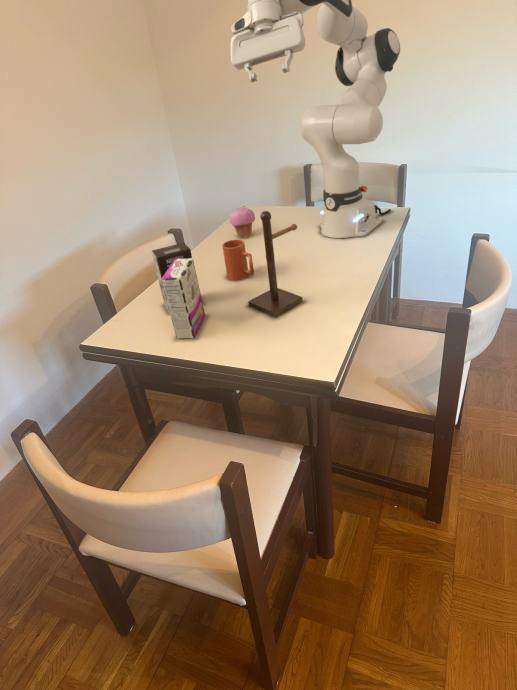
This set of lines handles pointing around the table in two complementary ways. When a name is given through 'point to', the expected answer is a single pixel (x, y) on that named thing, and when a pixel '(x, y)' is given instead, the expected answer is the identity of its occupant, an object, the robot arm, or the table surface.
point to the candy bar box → (183, 298)
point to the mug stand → (273, 276)
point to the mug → (237, 260)
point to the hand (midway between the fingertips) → (269, 76)
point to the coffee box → (168, 261)
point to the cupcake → (242, 221)
